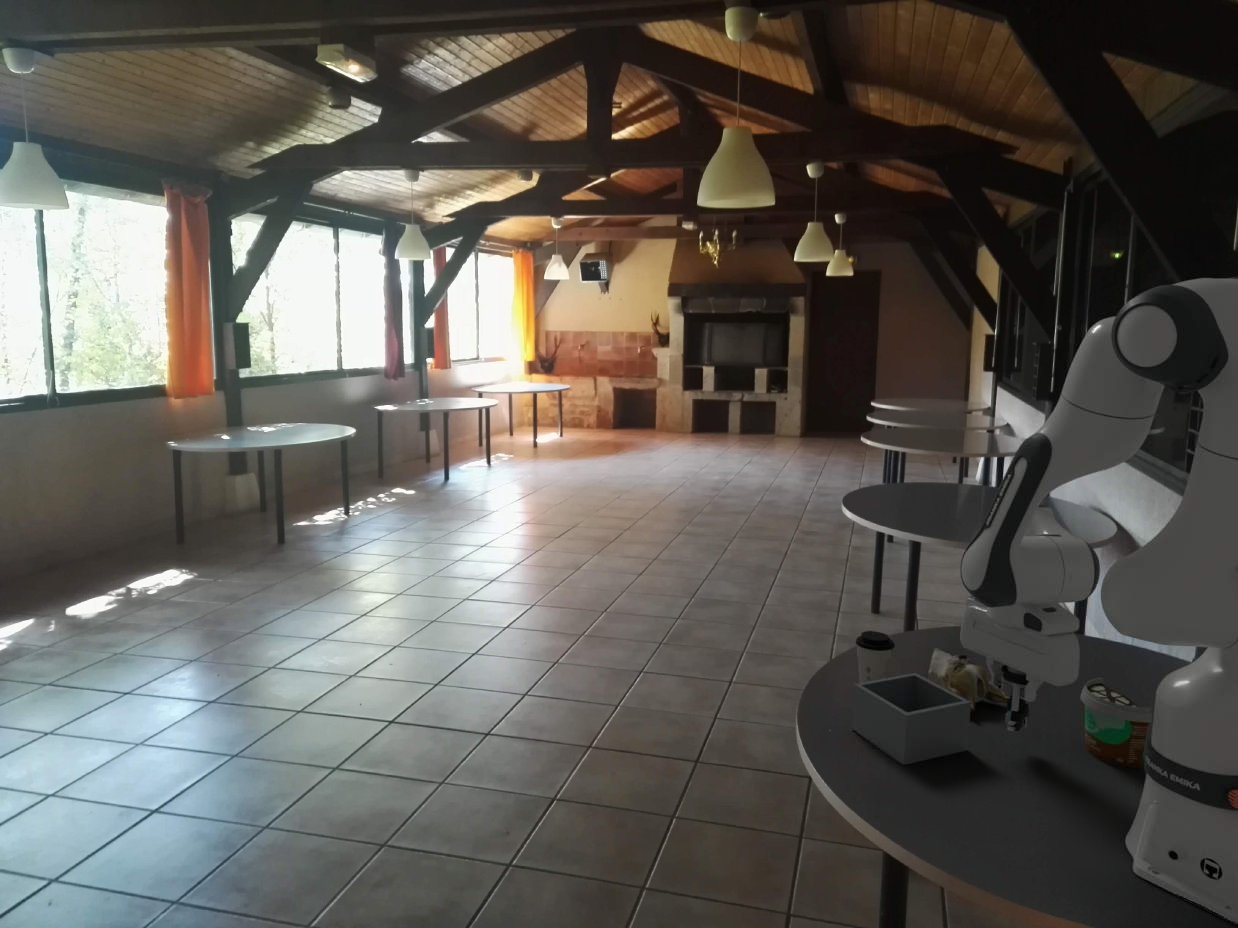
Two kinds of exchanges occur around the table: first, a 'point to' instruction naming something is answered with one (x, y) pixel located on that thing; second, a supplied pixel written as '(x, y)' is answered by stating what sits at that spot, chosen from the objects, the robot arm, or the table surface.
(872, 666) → the coffee cup
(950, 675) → the ceramic sculpture
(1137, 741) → the food container
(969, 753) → the table surface
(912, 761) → the bin
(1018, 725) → the push button
